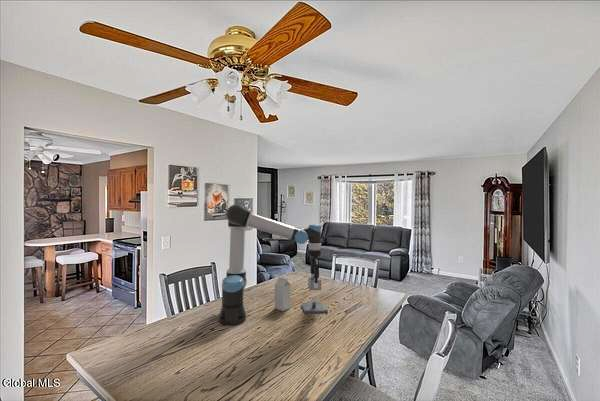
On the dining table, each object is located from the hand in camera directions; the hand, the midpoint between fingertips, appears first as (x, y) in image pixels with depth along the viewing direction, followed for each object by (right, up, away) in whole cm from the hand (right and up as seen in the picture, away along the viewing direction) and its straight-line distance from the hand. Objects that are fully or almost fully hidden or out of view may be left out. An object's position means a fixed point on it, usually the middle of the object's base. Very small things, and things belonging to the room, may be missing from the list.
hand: (314, 286), depth 179 cm
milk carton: (-20, -14, 0) cm, 25 cm away
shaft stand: (0, -14, 0) cm, 14 cm away
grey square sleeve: (0, -2, 0) cm, 2 cm away
